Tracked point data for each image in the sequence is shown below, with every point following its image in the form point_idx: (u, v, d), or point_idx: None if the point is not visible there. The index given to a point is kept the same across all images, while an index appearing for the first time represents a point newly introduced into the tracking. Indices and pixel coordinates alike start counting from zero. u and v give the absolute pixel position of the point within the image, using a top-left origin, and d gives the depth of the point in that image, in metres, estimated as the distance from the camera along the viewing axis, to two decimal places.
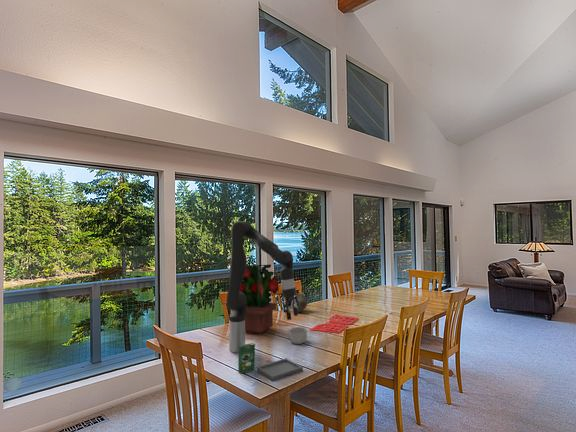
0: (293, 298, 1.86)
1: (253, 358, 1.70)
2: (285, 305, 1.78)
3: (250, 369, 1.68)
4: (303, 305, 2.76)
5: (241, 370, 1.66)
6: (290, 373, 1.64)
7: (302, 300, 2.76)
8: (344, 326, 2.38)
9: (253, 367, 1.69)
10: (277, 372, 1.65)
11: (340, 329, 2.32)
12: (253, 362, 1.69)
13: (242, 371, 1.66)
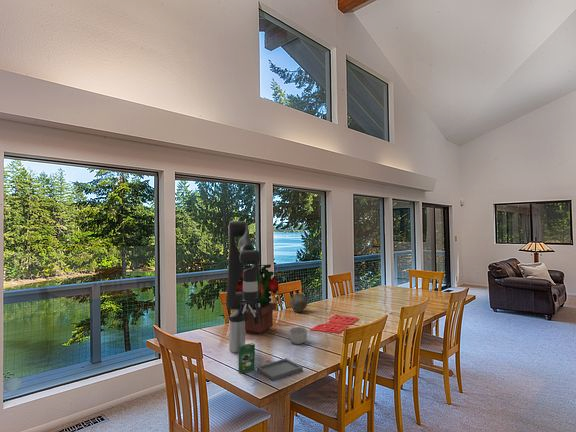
0: (251, 303, 1.68)
1: (253, 358, 1.70)
2: None
3: (250, 369, 1.68)
4: (303, 305, 2.76)
5: (241, 370, 1.66)
6: (290, 373, 1.64)
7: (302, 300, 2.76)
8: (344, 326, 2.38)
9: (253, 367, 1.69)
10: (277, 372, 1.65)
11: (340, 329, 2.32)
12: (253, 362, 1.69)
13: (242, 371, 1.66)
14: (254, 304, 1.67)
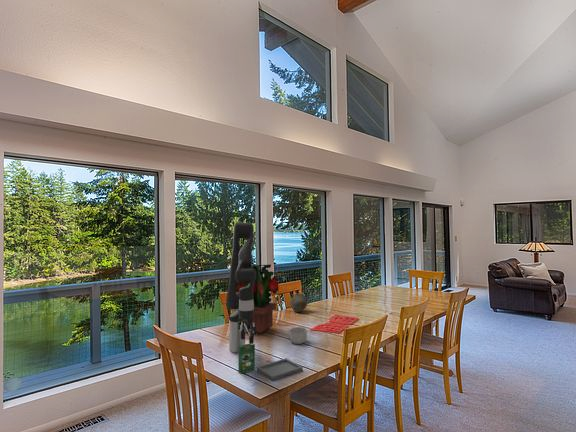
0: (246, 322, 1.67)
1: (253, 358, 1.70)
2: None
3: (250, 369, 1.68)
4: (303, 305, 2.76)
5: (241, 370, 1.66)
6: (290, 373, 1.64)
7: (302, 300, 2.76)
8: (344, 326, 2.38)
9: (253, 367, 1.69)
10: (277, 372, 1.65)
11: (340, 329, 2.32)
12: (253, 362, 1.69)
13: (242, 371, 1.66)
14: (249, 323, 1.66)
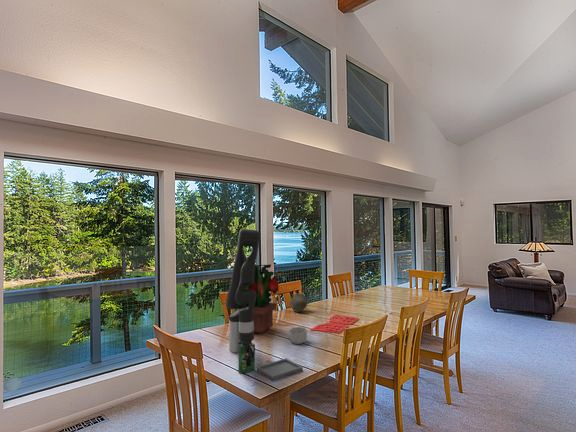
0: (246, 344, 1.67)
1: (253, 358, 1.70)
2: None
3: (250, 369, 1.68)
4: (303, 305, 2.76)
5: (241, 370, 1.66)
6: (290, 373, 1.64)
7: (302, 300, 2.76)
8: (344, 326, 2.38)
9: (253, 367, 1.69)
10: (277, 372, 1.65)
11: (340, 329, 2.32)
12: (253, 362, 1.69)
13: (242, 371, 1.66)
14: (249, 346, 1.66)
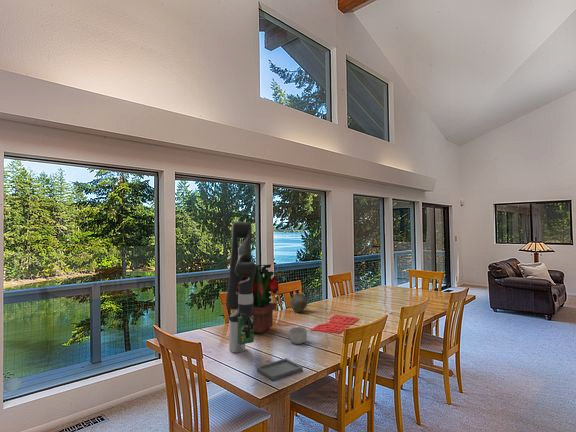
0: (245, 316, 1.67)
1: (252, 330, 1.70)
2: None
3: (249, 341, 1.69)
4: (303, 305, 2.76)
5: (240, 342, 1.67)
6: (290, 373, 1.64)
7: (302, 300, 2.76)
8: (344, 326, 2.38)
9: (252, 339, 1.70)
10: (277, 372, 1.65)
11: (340, 329, 2.32)
12: (252, 334, 1.70)
13: (241, 342, 1.67)
14: (248, 318, 1.66)
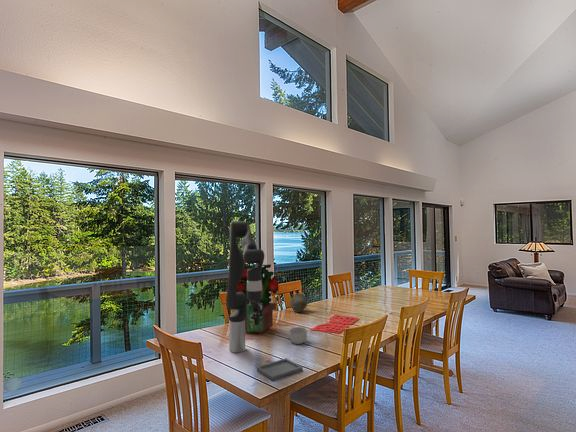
0: (254, 303, 1.67)
1: (261, 317, 1.70)
2: None
3: (258, 328, 1.69)
4: (303, 305, 2.76)
5: (250, 329, 1.66)
6: (290, 373, 1.64)
7: (302, 300, 2.76)
8: (345, 326, 2.38)
9: (261, 326, 1.69)
10: (277, 372, 1.65)
11: (341, 329, 2.32)
12: (261, 321, 1.70)
13: (250, 330, 1.67)
14: (257, 304, 1.66)
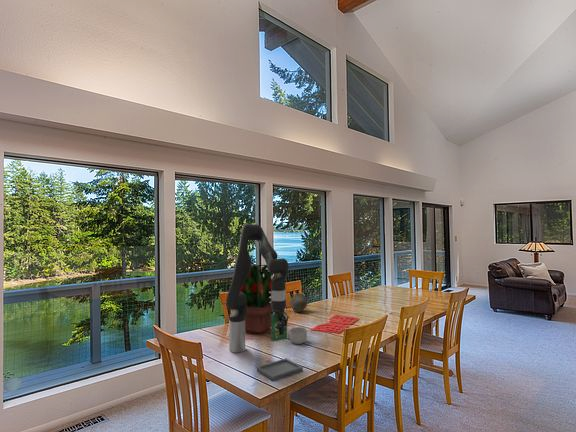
0: (279, 312, 1.67)
1: (285, 327, 1.70)
2: None
3: (283, 338, 1.69)
4: (303, 305, 2.76)
5: (274, 338, 1.66)
6: (290, 373, 1.64)
7: (302, 300, 2.76)
8: (345, 326, 2.38)
9: (285, 336, 1.69)
10: (277, 372, 1.65)
11: (341, 329, 2.31)
12: (285, 331, 1.70)
13: (275, 339, 1.66)
14: (282, 314, 1.66)
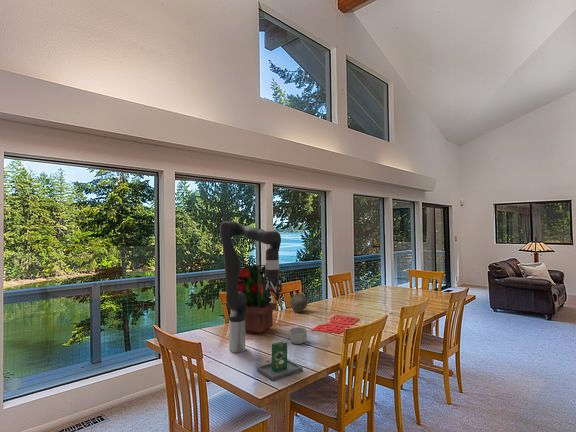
0: (272, 280, 1.81)
1: (286, 356, 1.69)
2: None
3: (283, 367, 1.68)
4: (303, 305, 2.76)
5: (275, 368, 1.66)
6: (290, 373, 1.64)
7: (302, 300, 2.76)
8: (345, 326, 2.38)
9: (286, 365, 1.69)
10: (277, 372, 1.65)
11: (341, 329, 2.31)
12: (286, 360, 1.69)
13: (276, 369, 1.66)
14: (275, 281, 1.79)
